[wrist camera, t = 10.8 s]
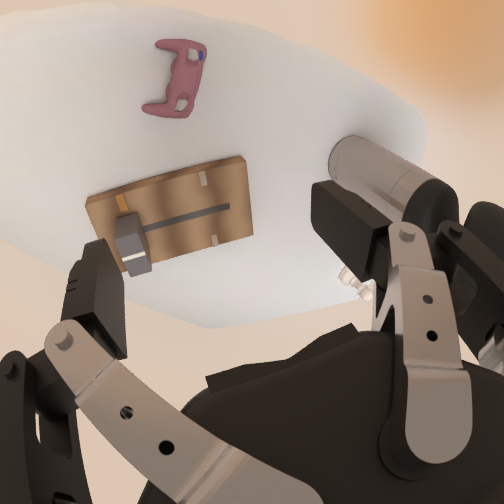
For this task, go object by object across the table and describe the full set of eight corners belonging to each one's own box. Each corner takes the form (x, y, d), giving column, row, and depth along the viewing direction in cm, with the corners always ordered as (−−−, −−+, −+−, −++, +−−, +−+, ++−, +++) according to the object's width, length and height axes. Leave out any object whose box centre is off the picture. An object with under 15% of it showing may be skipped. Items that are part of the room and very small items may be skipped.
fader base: (240, 155, 38) (246, 161, 36) (248, 226, 46) (253, 235, 44) (87, 197, 34) (84, 206, 32) (115, 264, 41) (115, 275, 39)
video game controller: (168, 113, 33) (199, 124, 30) (137, 113, 30) (165, 123, 26) (184, 43, 28) (219, 42, 24) (153, 37, 25) (185, 34, 21)
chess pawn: (350, 260, 60) (374, 286, 54) (359, 268, 63) (382, 294, 57) (334, 276, 62) (357, 304, 55) (344, 283, 65) (365, 310, 58)
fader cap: (137, 212, 35) (137, 232, 31) (150, 248, 39) (152, 271, 35) (116, 219, 34) (113, 240, 30) (130, 254, 38) (130, 277, 34)
